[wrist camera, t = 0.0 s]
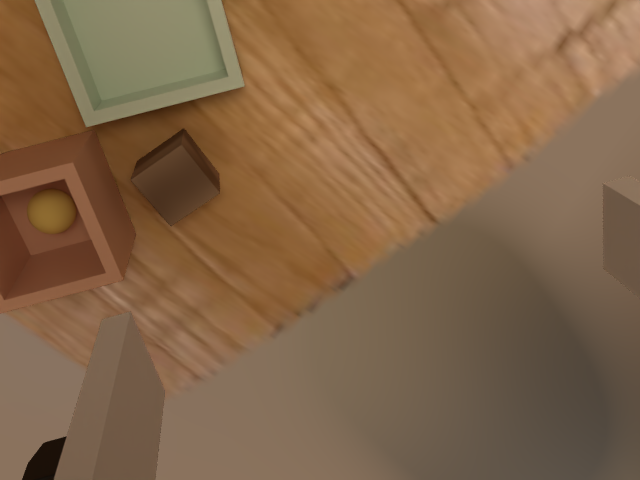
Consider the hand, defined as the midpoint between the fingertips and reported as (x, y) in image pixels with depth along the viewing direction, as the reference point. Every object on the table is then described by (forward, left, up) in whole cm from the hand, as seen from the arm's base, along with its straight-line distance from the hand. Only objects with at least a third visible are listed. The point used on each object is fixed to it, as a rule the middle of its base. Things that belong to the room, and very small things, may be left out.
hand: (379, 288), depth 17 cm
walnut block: (+4, -8, -28) cm, 30 cm away
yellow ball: (+4, -17, -27) cm, 32 cm away
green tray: (-6, -7, -28) cm, 30 cm away
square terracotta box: (+4, -17, -28) cm, 33 cm away
